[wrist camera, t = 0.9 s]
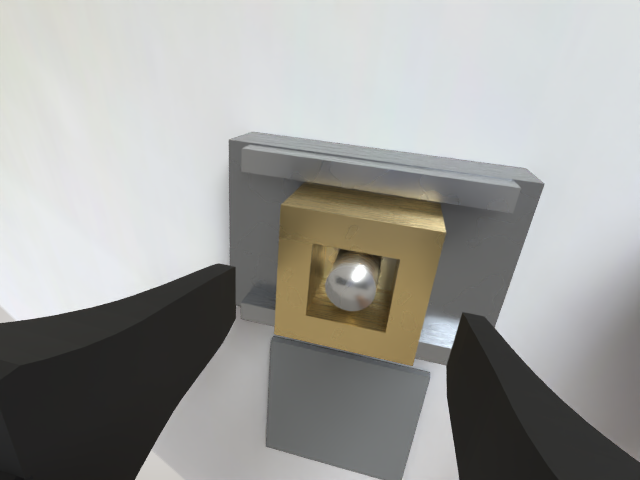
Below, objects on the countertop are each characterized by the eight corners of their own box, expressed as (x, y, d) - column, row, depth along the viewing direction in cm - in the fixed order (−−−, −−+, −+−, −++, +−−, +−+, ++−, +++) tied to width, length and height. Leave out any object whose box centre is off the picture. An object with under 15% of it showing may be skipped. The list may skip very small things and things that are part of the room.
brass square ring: (440, 203, 14) (445, 232, 12) (413, 319, 17) (412, 366, 14) (304, 182, 15) (280, 204, 13) (295, 294, 18) (274, 334, 15)
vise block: (526, 168, 16) (576, 210, 11) (475, 326, 19) (496, 413, 14) (252, 131, 18) (188, 152, 13) (250, 279, 21) (199, 341, 16)
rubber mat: (429, 372, 21) (430, 377, 20) (400, 478, 24) (400, 484, 24) (273, 336, 22) (271, 340, 22) (268, 441, 26) (266, 446, 25)
